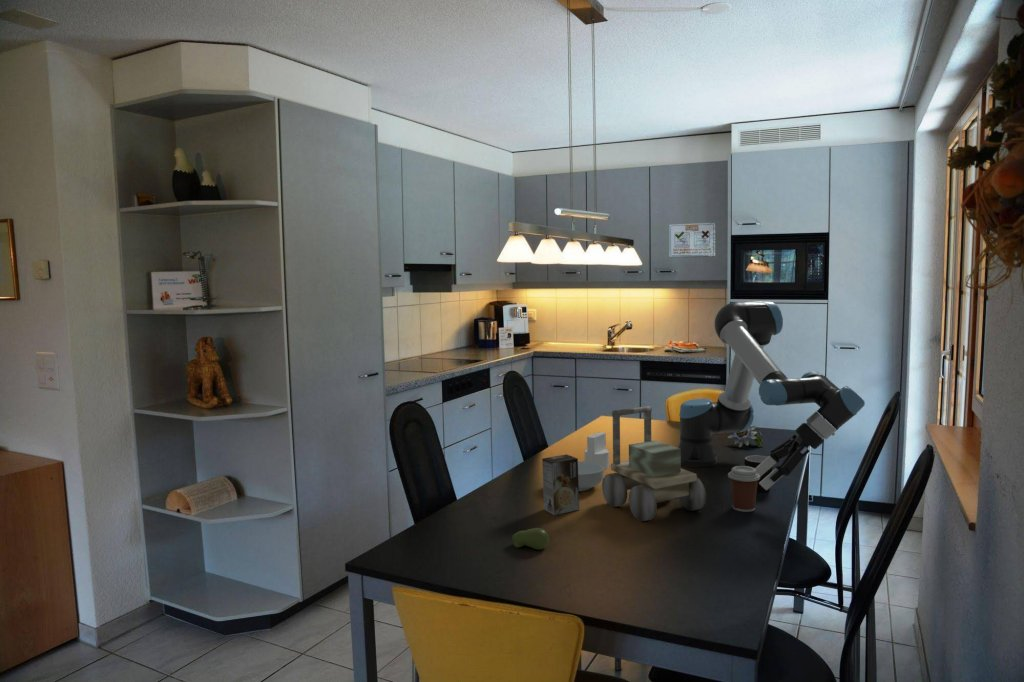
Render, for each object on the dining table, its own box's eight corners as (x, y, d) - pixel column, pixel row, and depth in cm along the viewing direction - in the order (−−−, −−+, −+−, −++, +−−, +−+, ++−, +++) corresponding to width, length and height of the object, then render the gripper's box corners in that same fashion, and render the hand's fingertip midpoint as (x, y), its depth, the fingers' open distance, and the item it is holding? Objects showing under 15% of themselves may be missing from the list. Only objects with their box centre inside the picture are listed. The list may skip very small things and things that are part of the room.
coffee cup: (726, 511, 198) (727, 472, 197) (728, 501, 206) (728, 463, 205) (759, 514, 195) (760, 474, 194) (760, 504, 203) (760, 466, 202)
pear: (541, 532, 170) (506, 533, 175) (544, 552, 171) (510, 553, 175) (549, 525, 175) (516, 525, 180) (553, 544, 176) (519, 545, 180)
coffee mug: (775, 493, 213) (775, 462, 212) (747, 492, 215) (747, 462, 214) (769, 482, 224) (769, 453, 223) (742, 481, 226) (742, 452, 225)
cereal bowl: (613, 486, 225) (613, 465, 224) (584, 499, 212) (583, 477, 212) (573, 477, 236) (573, 457, 236) (543, 488, 224) (542, 468, 223)
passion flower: (740, 460, 272) (722, 436, 273) (747, 449, 281) (729, 426, 282) (763, 448, 265) (745, 423, 267) (769, 437, 274) (751, 413, 275)
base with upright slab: (601, 471, 242) (601, 438, 241) (580, 467, 248) (579, 435, 247) (613, 465, 250) (613, 434, 248) (592, 462, 255) (592, 431, 254)
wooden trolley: (602, 501, 209) (601, 410, 207) (655, 491, 218) (654, 403, 216) (649, 526, 188) (649, 424, 185) (706, 513, 197) (706, 416, 194)
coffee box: (568, 504, 208) (567, 453, 207) (579, 510, 202) (578, 458, 201) (542, 509, 204) (541, 457, 202) (553, 515, 198) (552, 462, 197)
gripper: (834, 451, 180) (775, 502, 185) (815, 430, 204) (763, 476, 209) (813, 431, 181) (755, 483, 186) (797, 413, 205) (745, 459, 210)
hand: (759, 479), depth 198 cm, fingers open, 13 cm apart
